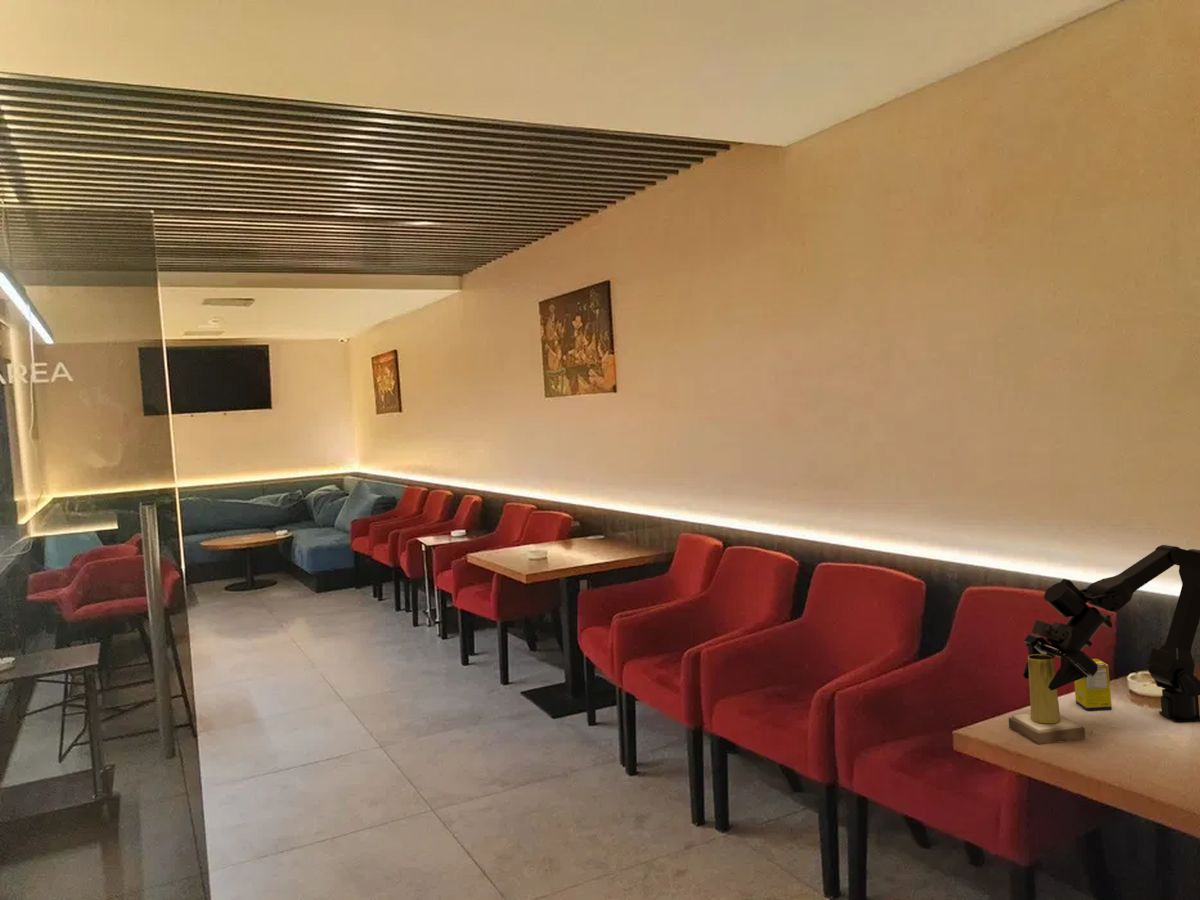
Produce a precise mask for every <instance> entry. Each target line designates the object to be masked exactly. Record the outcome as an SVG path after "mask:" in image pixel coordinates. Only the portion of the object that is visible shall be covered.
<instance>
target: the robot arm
mask: <svg viewBox="0 0 1200 900" xmlns="http://www.w3.org/2000/svg"><path fill="white" fill-rule="evenodd" d="M1175 565H1176V566H1178V567H1179V568H1178V574H1179V577H1180V580H1181V589H1180V592H1179V596H1178V599H1177V602H1176V607H1175V609H1174V613H1173V616H1172V620H1171V623H1170V626H1169V630H1168V633H1167V637H1166V641H1165V643H1164V644H1163V645H1162V646H1161V647H1160V648H1157V647H1156V648H1155V647H1153V648H1152V649H1151V652H1150V658H1149V660H1148V661H1147V662H1146V664H1147V665H1148V673H1149V674H1150V676H1151V677H1150V678H1152V679H1153V680H1154V683H1155V685H1156V687H1158V688H1162V689H1161V694H1162V695H1161V696H1160V707H1161V710H1159V711H1158V713H1159V714H1160V715H1162V716H1164V717H1166V718H1167V719H1169V720H1172V721H1173V722H1176V723H1185V722H1199V721H1200V701H1199V696H1200V680H1199V679H1198V678H1197V677H1196V676H1195V675H1194V674H1195V662H1194V659H1193V654H1192V648H1193V644H1194V640H1195V638H1196V634H1197V630H1198V628H1199V623H1200V549H1196V548H1191V549H1184V548H1181V547H1180V546H1176V545H1168V544H1161V545H1158V546H1157V547H1156V548H1154V550H1153V551H1152V552H1151V553H1149V554H1147V555H1145V556H1144V557H1143V558H1141V559H1140V560H1139V561H1136V562H1135V563H1133V564H1132V565H1131V566H1129V567H1127V568H1126V569H1125V570H1123V571H1122V572H1120V573H1119V574H1116V575H1114V576H1110V577H1105V578H1102V579H1099V580H1097V581H1095V582H1092V583H1091V584H1089V585H1088V586H1087V587H1086V588H1081V589H1079V588H1078V587H1076V586H1075V584H1074V583H1073V582H1072V581H1071V580H1070V579H1067V578H1063V579H1062V580H1061V581H1060V582H1056V583H1054V584H1053V585H1051V586H1050V587H1048V588H1047V589H1046V591H1045V592H1044V595H1043V599H1044V600H1045V601H1046V602H1047V603H1048V604H1049V605H1050V606H1051V607H1053V609H1055V611H1057V612H1058V613H1059V614H1060V615H1061V616H1063V617H1065V618H1068V617H1069V619H1068V620H1067V622H1065V623H1061V622H1057V621H1055V622H1054V623H1053V624H1050V623H1047V622H1045V621H1041V620H1038V619H1035V621H1034V624H1033V627H1032V628H1031V634H1028V635H1027V636H1026V637H1025V639H1024V640H1023V642H1024V643H1025V647H1026V648H1027V650H1028V656H1029V655H1032V654H1045V655H1050V656H1052V657H1053V659H1054V658H1055V657H1057V658H1060V667H1059V669H1058V670H1057V672H1056V673H1055V676H1054V678H1053V679H1052V681H1051V682H1050V684H1049V686H1048V688H1049V689H1050V690H1055V689H1057V690H1058V689H1059V688H1061V687H1064V686H1066V685H1067V684H1068V685H1069V684H1070V683H1073V682H1074V681H1076V680H1079V679H1081V678H1087V677H1088V676H1087V675H1089V676H1092V677H1093V676H1094V675H1095V674H1096V673H1097V671H1098V664H1097V663H1095V662H1094V661H1093V660H1092V659H1093V658H1091V657H1090V656H1089V655H1087V654H1086V652H1084V651H1083V649H1084V648H1085V647H1089V648H1091V646H1092V645H1093V643H1092V642H1091V641H1090V640H1091V639H1092V638H1093V636H1094V635H1095V634H1096V633H1097V631H1098V630H1099V629H1100V627H1101V626H1103V627H1106V628H1108V629H1109V628H1110V629H1112V628H1113V622H1112V620H1111V615H1109V614H1105V613H1102V612H1101V611H1100V610H1104V611H1107V612H1113V613H1115V612H1118V611H1120V610H1122V609H1123V608H1125V606H1126V605H1127V604H1128V603H1130V601H1132V597H1133V595H1134V593H1135V592H1137V590H1139V589H1140V588H1142V587H1144V586H1145V585H1146V584H1148V583H1149V582H1151V581H1152V580H1154V579H1155V578H1158V577H1159V576H1160V575H1161V574H1163V573H1164V572H1166V571H1167V570H1169V569H1171V568H1172V567H1174V566H1175ZM1099 609H1100V610H1099ZM1026 661H1027V662H1026V664H1025V668H1024V671H1023V674H1022V677H1023V678H1024V679H1026V680H1029V669H1028V660H1026ZM1086 674H1087V675H1086Z"/></svg>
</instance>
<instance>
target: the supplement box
mask: <svg viewBox="0 0 1200 900" xmlns="http://www.w3.org/2000/svg"><path fill="white" fill-rule="evenodd" d="M1091 659H1092V660H1093V661H1094V662H1095V663H1097V664H1098V671H1097V673H1096V674H1095V675H1094V676H1093V677H1092V676H1089V675H1087V674H1086V675H1087V676H1088V677H1087V678H1081V679H1079V680H1076V681H1073V682H1074V692H1075V695H1074V696H1075V705H1077V706H1079V707H1081V709H1083V710H1085V711H1087V712H1089V711H1102V710H1103V711H1105V710H1107V711H1108V710H1112V709H1113V707H1112V696H1111V695H1112V694H1111V681H1110V669H1109V665H1108V664H1107V663H1105V662H1104V661H1102V660H1100V659H1098V658H1091Z"/></svg>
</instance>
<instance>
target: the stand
mask: <svg viewBox="0 0 1200 900" xmlns="http://www.w3.org/2000/svg"><path fill="white" fill-rule="evenodd" d="M1060 718H1061V721H1060V722H1058V723H1054V724H1044V723H1038V722H1035V721H1033V720H1032V719H1031V712H1030V713H1023V714H1022V713H1021V714H1015V715H1011V717H1008V728H1009V729H1010V728H1011V730H1012V731H1014V732H1015V731H1016V733H1017V732H1018V733H1017V734H1019V735H1020V736H1023V737H1024V736H1025V738H1026V739H1028V740H1030V741H1031V740H1032V742H1033V741H1034V742H1033V743H1035V744H1037V745H1045V744H1044V743H1047V744H1052V743H1051V742H1056V743H1060V742H1059V741H1064V742H1068V741H1067V740H1072V741H1079V740H1078V739H1081V740H1086V729H1085V727H1083V726H1082V725H1081V724H1080V723H1077V722H1076V721H1073V720H1072V719H1069V718H1067V717H1065V716H1064V715H1061V714H1060Z"/></svg>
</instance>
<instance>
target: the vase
mask: <svg viewBox="0 0 1200 900" xmlns="http://www.w3.org/2000/svg"><path fill="white" fill-rule="evenodd" d="M1027 661H1028V669H1029V678H1028V683H1029V684H1028V685H1029V699H1030V700H1029V703H1030V705H1029V706H1030V713H1031V719H1032V720H1033V721H1035V722H1038V723H1044V724H1054V723H1058V722H1060V721H1061V718H1060V715H1061V713H1060V703H1059V696H1058V688H1057V689H1055V690H1050V689H1049V688H1048V686H1049V684H1050V682H1051V681H1052V679H1053V678H1054V676H1055V674H1056V673H1055V663H1054V661H1055V659H1054V658H1053V657H1052V656H1050V655H1045V654H1032V655H1029V654H1028V655H1027Z"/></svg>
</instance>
